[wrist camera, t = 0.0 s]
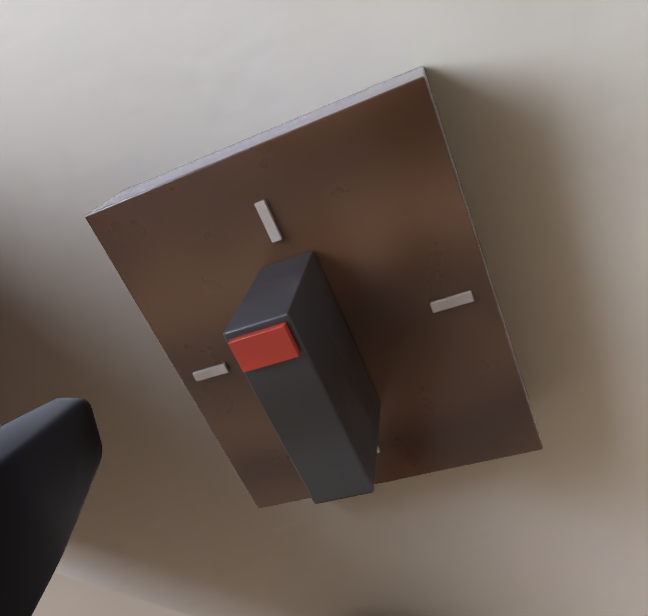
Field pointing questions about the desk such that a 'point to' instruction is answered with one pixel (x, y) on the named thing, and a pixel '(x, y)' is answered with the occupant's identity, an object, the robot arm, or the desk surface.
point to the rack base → (332, 280)
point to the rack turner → (309, 377)
